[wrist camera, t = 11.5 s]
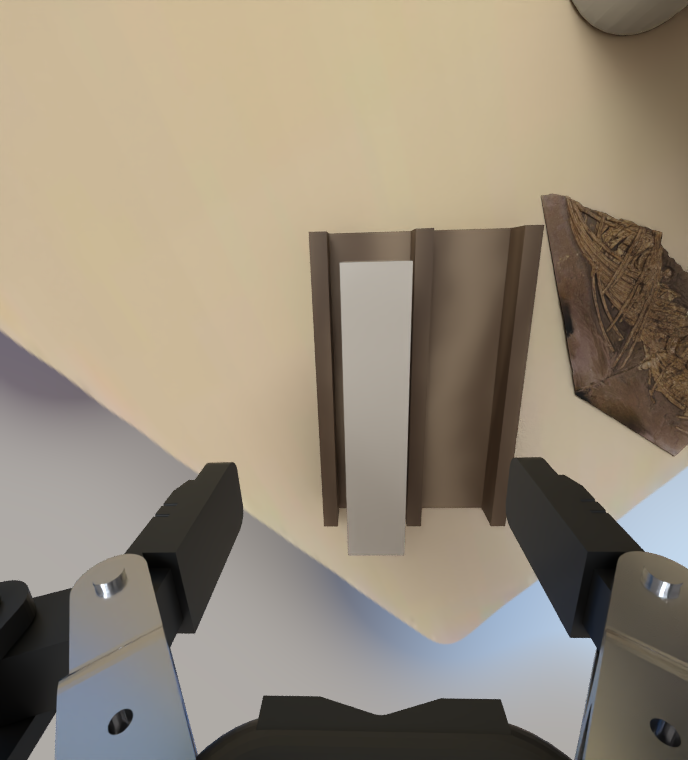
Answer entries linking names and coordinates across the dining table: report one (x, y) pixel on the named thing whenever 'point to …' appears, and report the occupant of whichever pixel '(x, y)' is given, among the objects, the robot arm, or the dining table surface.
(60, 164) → the dining table surface
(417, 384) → the rack
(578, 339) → the wooden fragment
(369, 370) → the gray rectangular block
